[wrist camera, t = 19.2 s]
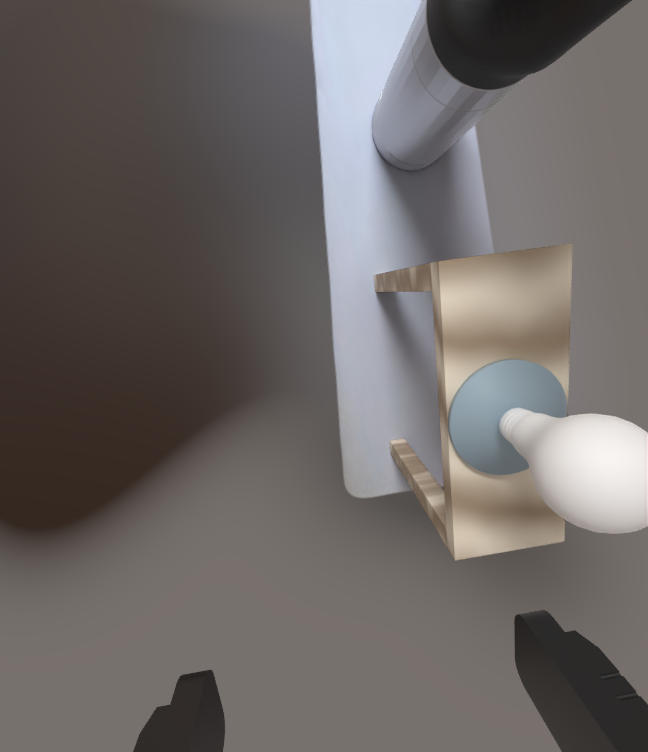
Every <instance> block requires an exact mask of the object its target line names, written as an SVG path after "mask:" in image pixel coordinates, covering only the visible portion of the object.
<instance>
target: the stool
mask: <svg viewBox="0 0 648 752" xmlns="http://www.w3.org/2000/svg"><path fill="white" fill-rule="evenodd" d="M571 277H572V243H571V244H564V245H556V246H549V247H541V248H533V249H526V250H518V251H511V252H504V253H496V254H488V255H481V256H473V257H466V258H458V259H451V260H443V261H437V262H432V263H428V264H423V265H419V266H414V267H409V268H405V269H400V270H396V271H391V272H386V273H382V274H377V275H374V282H375V292H408V291H432V296H433V313H434V329H435V346H436V363H437V380H438V396H439V413H440V430H441V447H442V463H443V480H444V491H443V490H442V488H441V487H440V485H439V484H438V483H437V482H436V480H435V479H434V478H433V476H432V475H431V474H430V472H429V471H428V470H427V468H426V467H425V466H424V464H423V463H422V462H421V460H420V459H419V458H418V456H417V455H416V454H415V452H414V451H413V450H412V448H411V447H410V446H409V444H408V443H407V442H406V440H405V439H397V440H391V441H390V449H391V455H392V457H393V458H394V460H395V462H396V463H397V465H398V467H399V468H400V470H401V472H402V473H403V475H404V477H405V478H406V480H407V482H408V483H409V485H410V487H411V488H412V490H413V492H414V493H415V495H416V497H417V498H418V500H419V502H420V503H421V505H422V507H423V508H424V510H425V511H426V513H427V515H428V516H429V518H430V520H431V521H432V523H433V525H434V526H435V528H436V530H437V531H438V533H439V535H440V536H441V538H442V540H443V541H444V543H445V545H446V546H447V548H448V550H449V551H450V553H451V555H452V556H453V558H454V560H461V559H467V558H472V557H478V556H484V555H490V554H496V553H501V552H507V551H513V550H518V549H524V548H530V547H536V546H541V545H547V544H553V543H558V542H563V541H564V531H565V519H563V518H562V517H560V516H559V515H558V514H556V513H555V512H554V511H553V510H552V509H551V508H550V507H549V506H548V505H546V503H545V502H544V500H543V499H542V498H541V496H540V495H539V493H538V492H537V490H536V488H535V485H534V482H533V479H532V476H531V473H530V470H529V464H528V462H527V461H526V459H525V458H524V457H523V456H522V455H521V454H519V453H518V452H517V451H516V449H515V448H514V446H513V444H512V443H510V442H509V441H508V440H507V439H506V438H505V437H503V436H502V434H501V432H500V429H499V423H500V420H501V418H502V416H503V415H504V414H505V413H506V412H507V411H509V410H511V409H513V408H523V409H526V410H529V411H532V412H534V413H543V414H546V415H549V416H551V417H556V418H564V417H568V387H569V350H570V314H571Z"/></svg>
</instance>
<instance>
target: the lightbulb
mask: <svg viewBox="0 0 648 752" xmlns="http://www.w3.org/2000/svg"><path fill="white" fill-rule="evenodd" d="M499 429H500V432H501V434H502V436H503V437H505V438H506V439H507V440H508V441H509V442H510V443H512V444H513V446H514V448H515V449H516V451H517V452H518V453H519V454H521V455H522V456H523V457H524V458H525V459H526V461H527V462H528V464H529V470H530V473H531V476H532V479H533V482H534V485H535V488H536V490H537V492H538V493H539V495H540V496H541V498H542V499H543V500H544V502H545V503H546V505H548V506H549V507H550V508H551V509H552V510H553V511H554V512H555V513H556V514H558V515H559V516H560V517H562V518H563V519H565V520H567V521H569V522H570V523H572V524H574V525H576V526H579V527H581V528H585V529H588V530H591V531H594V532H601V533H612V534H617V533H627V532H633V531H637V530H640V529H643V528H645V527H647V526H648V433H647V432H646V431H644V430H642V429H641V428H640V427H638V426H637V425H635V424H634V423H631V422H629V421H626V420H623V419H621V418H618V417H615V416H608V415H600V414H593V413H592V414H581V415H573V416H568V417H564V418H556V417H551V416H549V415H546V414H543V413H534V412H532V411H529V410H526V409H523V408H513V409H511V410H509V411H507V412H506V413H505V414H504V415H503V416H502V418H501V420H500V423H499Z"/></svg>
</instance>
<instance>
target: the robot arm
mask: <svg viewBox="0 0 648 752" xmlns="http://www.w3.org/2000/svg"><path fill="white" fill-rule="evenodd" d="M630 1H632V0H422V1H421V4H420V6H419V9H418V11H417V13H416V16H415V18H414V20H413V22H412V25H411V27H410V29H409V32H408V34H407V36H406V38H405V41H404V43H403V45H402V47H401V50H400V52H399V54H398V57H397V59H396V61H395V63H394V66H393V68H392V70H391V73H390V75H389V77H388V79H387V82H386V84H385V86H384V88H383V90H382V93H381V95H380V97H379V100H378V102H377V104H376V106H375V110H374V113H373V119H372V132H373V138H374V141H375V145H376V147H377V149H378V151H379V152H380V154H381V155H382V156H383V158H384V159H385V160H386V161H388V162H389V163H390V164H391V165H393V166H395V167H397V168H399V169H403V170H419V169H422V168H425V167H427V166H429V165H431V164H432V163H433V162H435V161H436V160H437V159H438V158H439V157H440V156H441V155H442V154H443V153H445V152H446V151H447V150H448V149H449V148H450V147H451V146H452V145H453V144H454V143H456V142H457V141H458V140H459V139H460V138H461V137H462V136H463V135H464V134H465V133H466V132H467V131H468V130H470V129H471V128H472V127H473V126H474V125H475V124H476V123H477V122H478V121H479V120H480V119H481V118H482V117H483V116H484V115H486V114H487V113H488V112H489V111H490V110H491V109H492V108H493V107H494V106H495V105H496V104H497V103H498V102H499V101H501V100H502V99H503V98H504V97H505V96H506V95H507V94H508V93H509V92H510V91H511V90H512V89H513V88H514V87H515V86H516V85H518V84H519V83H520V82H521V81H522V80H523V79H524V78H525V77H526V76H527V75H528V74H532V73H535V72H538V71H540V70H542V69H544V68H546V67H547V66H549V65H550V64H552V63H553V62H555V61H556V60H557V59H558V58H560V57H561V56H562V55H563V54H564V53H566V52H567V51H568V50H569V49H571V48H572V47H573V46H574V45H575V44H577V43H578V42H579V41H581V40H582V39H583V38H584V37H586V36H587V35H588V34H589V33H591V32H592V31H593V30H594V29H596V28H597V27H598V26H599V25H601V24H602V23H603V22H605V21H606V20H607V19H609V18H610V17H611V16H612V15H614V14H615V13H616V12H617V11H619V10H620V9H621V8H623V7H624V6H625V5H627V4H628V3H629V2H630ZM515 662H516V667H517V670H518V673H519V676H520V678H521V681H522V683H523V685H524V687H525V689H526V690H527V693H528V694H529V696H530V698H531V699H532V701H533V703H534V705H535V706H536V708H537V710H538V711H539V713H540V715H541V716H542V718H543V720H544V722H545V723H546V725H547V727H548V728H549V730H550V732H551V734H552V735H553V737H554V739H555V741H556V742H557V744H558V746H559V747H560V749H561V751H562V752H648V705H647V703H646V702H645V701H644V700H643V699H642V698H641V697H639V696H638V695H637V693H636V691H635V690H634V688H633V687H632V686H631V685H630V684H629V682H627V680H626V679H625V678H624V677H623V676H621V675H620V673H619V671H618V670H617V668H616V667H615V666H614V665H613V664H612V663H611V662H610V660H609V659H608V658H607V657H606V656H605V654H604V653H603V652H602V651H601V650H600V649H599V648H598V647H597V646H595V645H594V644H593V643H591V642H590V641H589V640H587V639H586V638H584V637H583V636H582V635H580V634H579V633H578V632H576V631H570V632H564V631H563V629H562V628H561V627H560V626H559V624H558V623H557V622H556V621H555V619H554V618H553V617H552V616H551V615H550V614H549V613H548V612H547V611H545V610H541V611H535V612H530V613H524V614H519V615H516V616H515ZM224 737H225V720H224V712H223V708H222V704H221V700H220V696H219V693H218V689H217V685H216V682H215V677H214V674H213V671H212V670H207V671H201V672H196V673H190V674H185V675H181V676H180V678H179V679H178V682H177V684H176V688H175V691H174V694H173V697H172V701H171V704H170V705H166V706H161V707H157V708H156V710H155V711H154V713H153V714H152V716H151V717H150V719H149V721H148V722H147V723H146V725H145V727H144V728H143V730H142V731H141V733H140V735H139V737H138V740H137V743H136V746H135V748H134V751H133V752H223V747H224Z"/></svg>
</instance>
